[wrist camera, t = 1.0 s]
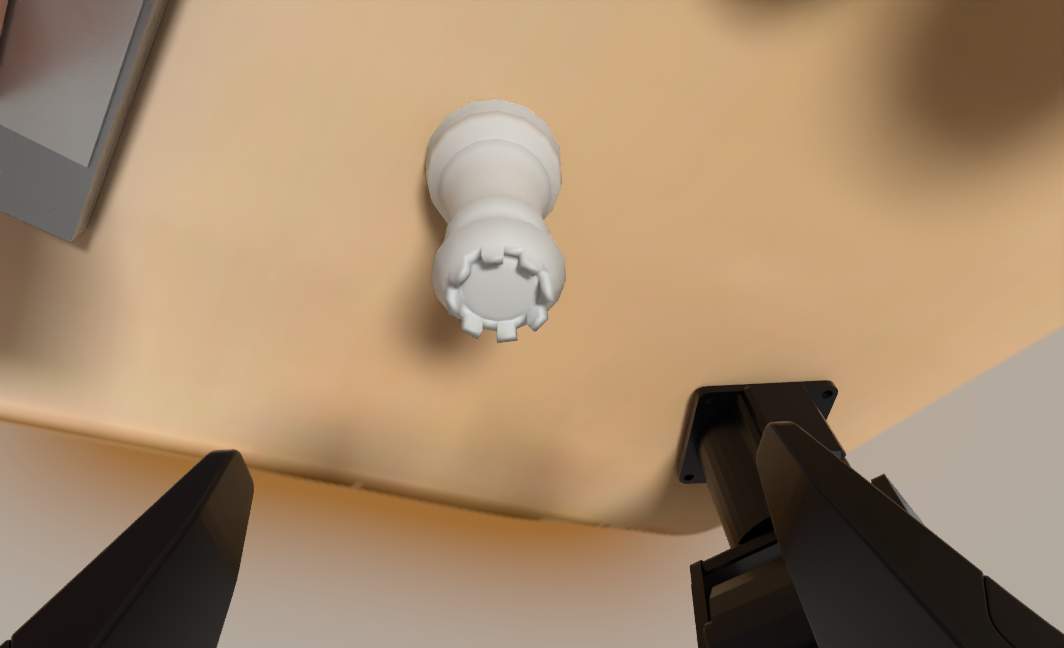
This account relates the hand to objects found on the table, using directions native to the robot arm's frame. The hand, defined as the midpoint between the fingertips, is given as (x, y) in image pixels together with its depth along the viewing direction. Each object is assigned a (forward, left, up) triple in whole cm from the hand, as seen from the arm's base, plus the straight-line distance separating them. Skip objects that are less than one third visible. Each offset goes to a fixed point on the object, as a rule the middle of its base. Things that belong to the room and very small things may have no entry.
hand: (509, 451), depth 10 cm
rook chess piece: (0, 0, -13) cm, 13 cm away
